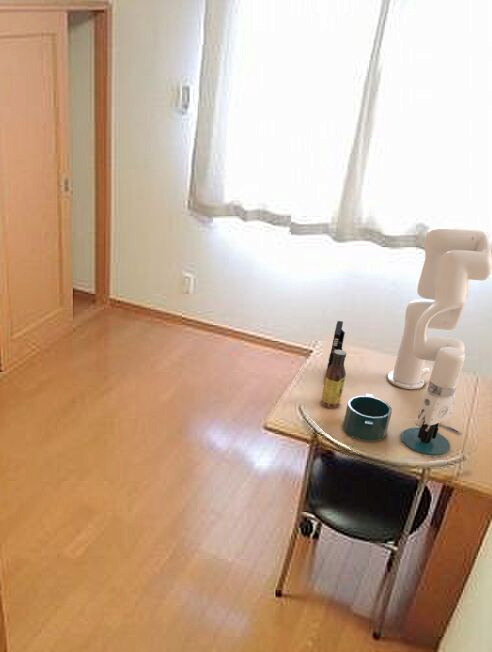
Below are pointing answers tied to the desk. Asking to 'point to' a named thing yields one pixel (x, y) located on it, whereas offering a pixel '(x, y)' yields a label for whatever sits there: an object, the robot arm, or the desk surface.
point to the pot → (367, 417)
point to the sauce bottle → (334, 380)
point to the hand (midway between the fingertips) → (426, 437)
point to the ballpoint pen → (452, 429)
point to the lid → (429, 447)
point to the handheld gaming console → (336, 341)
